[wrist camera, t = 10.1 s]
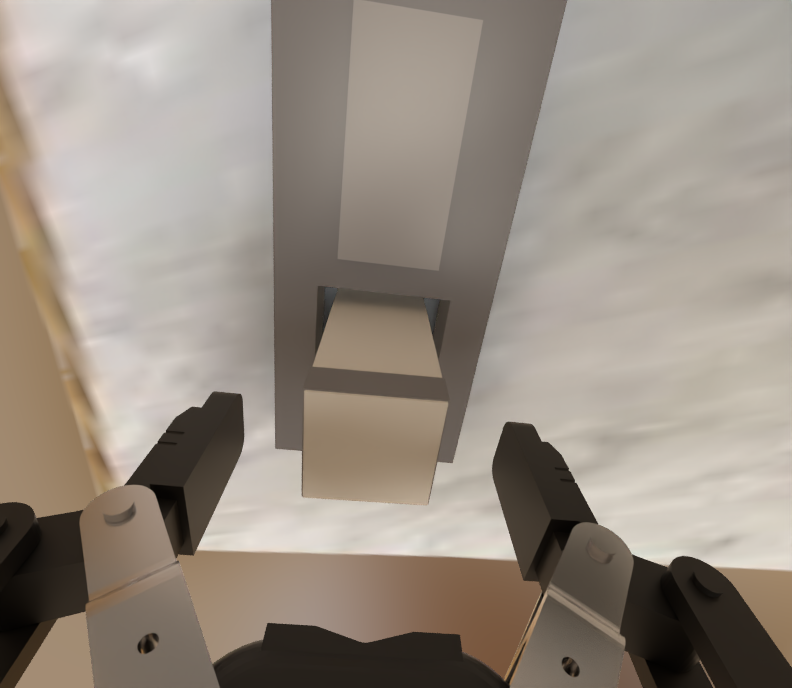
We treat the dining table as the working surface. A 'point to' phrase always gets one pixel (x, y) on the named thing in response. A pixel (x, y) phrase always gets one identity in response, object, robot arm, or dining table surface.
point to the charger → (373, 402)
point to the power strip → (399, 168)
